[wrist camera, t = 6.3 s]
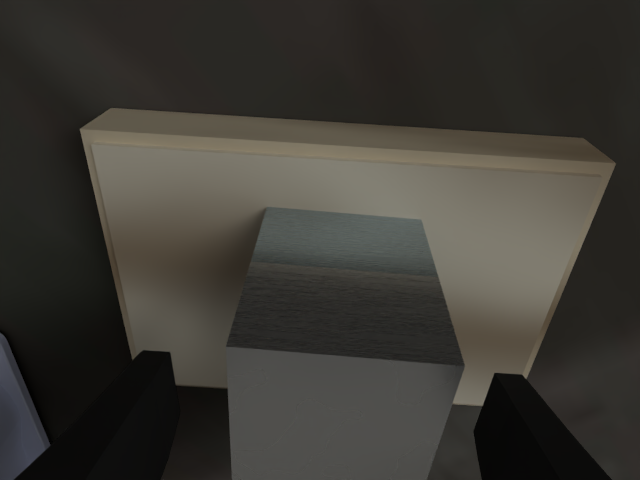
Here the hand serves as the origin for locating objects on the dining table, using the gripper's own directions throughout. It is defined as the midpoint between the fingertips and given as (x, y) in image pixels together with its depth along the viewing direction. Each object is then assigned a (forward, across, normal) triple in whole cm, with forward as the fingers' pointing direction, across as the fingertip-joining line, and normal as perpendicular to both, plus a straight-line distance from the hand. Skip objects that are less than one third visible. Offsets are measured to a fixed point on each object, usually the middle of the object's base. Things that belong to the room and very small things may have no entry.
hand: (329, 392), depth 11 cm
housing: (+3, 0, 0) cm, 3 cm away
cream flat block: (+5, 0, 0) cm, 5 cm away
